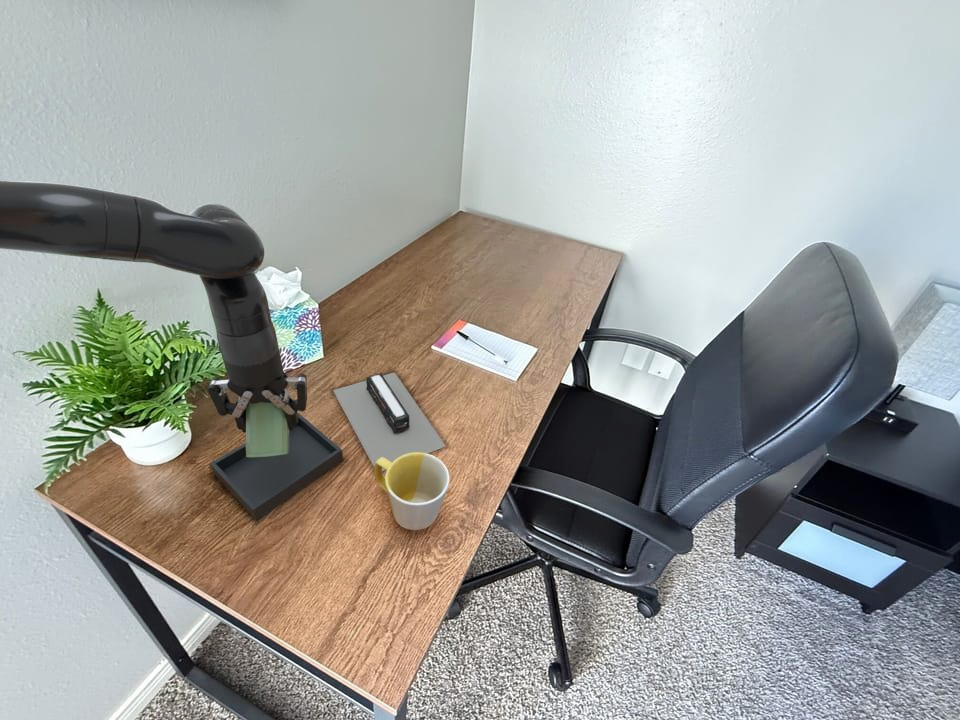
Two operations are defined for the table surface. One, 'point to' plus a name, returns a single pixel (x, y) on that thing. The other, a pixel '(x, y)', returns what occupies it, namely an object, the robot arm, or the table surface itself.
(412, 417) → the grey flat rectangular panel
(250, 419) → the tumbler
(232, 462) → the tray
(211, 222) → the robot arm
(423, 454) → the mug
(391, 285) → the table surface
